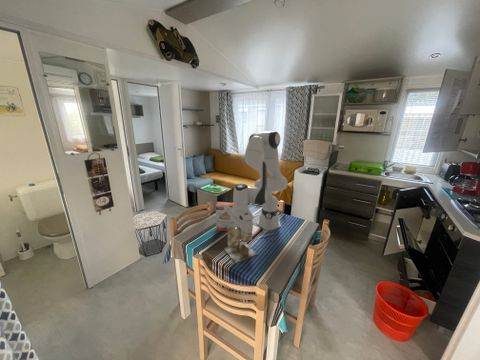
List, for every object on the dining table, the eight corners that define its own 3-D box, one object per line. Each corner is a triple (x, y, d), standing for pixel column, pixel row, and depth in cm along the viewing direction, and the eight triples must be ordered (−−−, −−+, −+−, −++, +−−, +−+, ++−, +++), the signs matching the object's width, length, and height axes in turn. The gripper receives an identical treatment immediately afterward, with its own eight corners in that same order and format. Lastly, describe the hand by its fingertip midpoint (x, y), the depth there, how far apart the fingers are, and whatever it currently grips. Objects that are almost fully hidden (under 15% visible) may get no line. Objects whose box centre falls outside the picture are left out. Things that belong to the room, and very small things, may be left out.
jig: (223, 248, 127) (223, 239, 125) (243, 241, 134) (243, 233, 132) (236, 264, 114) (236, 254, 112) (257, 255, 122) (257, 245, 119)
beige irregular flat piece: (229, 247, 117) (229, 232, 114) (227, 246, 119) (227, 231, 116) (251, 239, 125) (252, 225, 122) (250, 238, 127) (250, 224, 124)
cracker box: (216, 230, 147) (215, 204, 140) (217, 226, 152) (217, 201, 146) (235, 232, 146) (235, 205, 139) (236, 227, 151) (236, 202, 145)
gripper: (227, 206, 123) (227, 226, 127) (245, 220, 106) (244, 242, 110) (236, 204, 126) (236, 223, 130) (255, 217, 109) (254, 239, 113)
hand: (240, 232), depth 120 cm, fingers closed on beige irregular flat piece, 2 cm apart
